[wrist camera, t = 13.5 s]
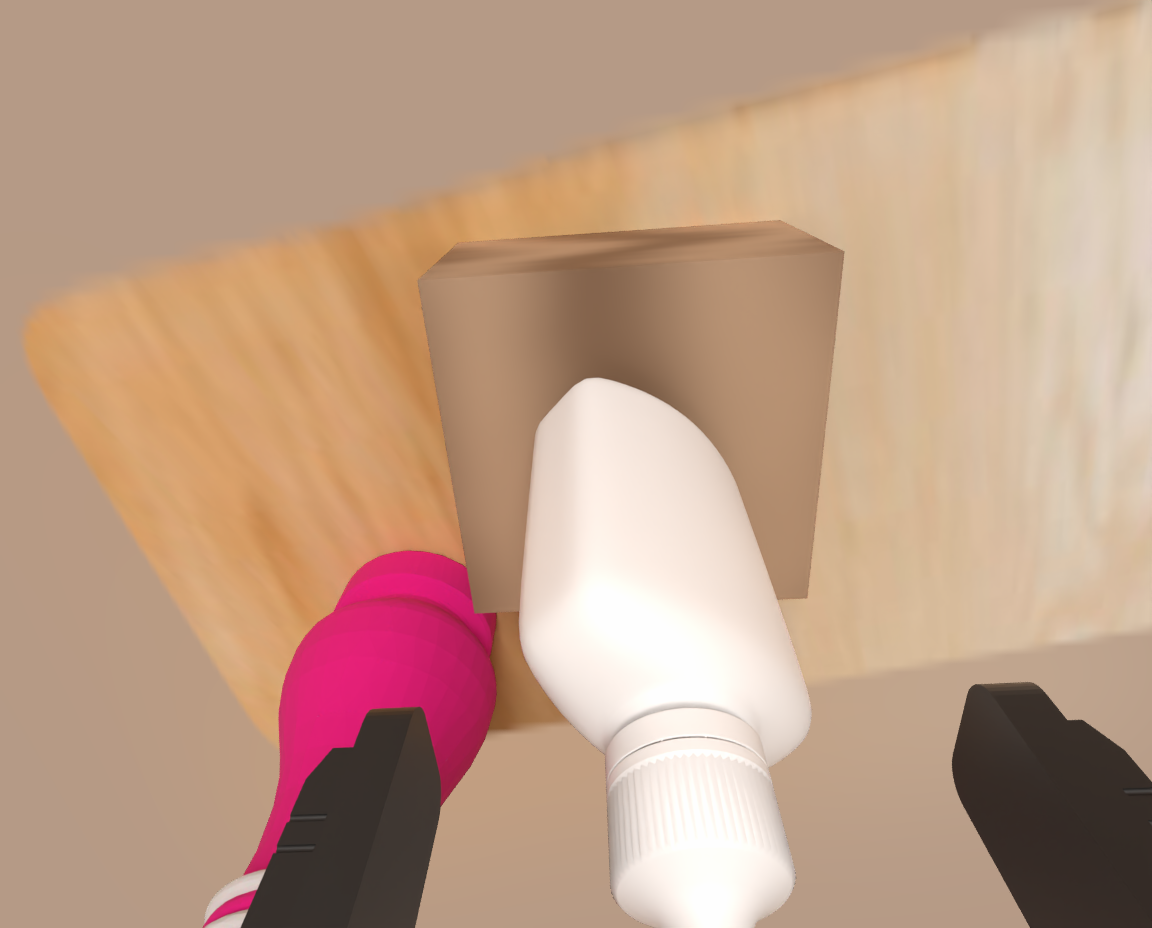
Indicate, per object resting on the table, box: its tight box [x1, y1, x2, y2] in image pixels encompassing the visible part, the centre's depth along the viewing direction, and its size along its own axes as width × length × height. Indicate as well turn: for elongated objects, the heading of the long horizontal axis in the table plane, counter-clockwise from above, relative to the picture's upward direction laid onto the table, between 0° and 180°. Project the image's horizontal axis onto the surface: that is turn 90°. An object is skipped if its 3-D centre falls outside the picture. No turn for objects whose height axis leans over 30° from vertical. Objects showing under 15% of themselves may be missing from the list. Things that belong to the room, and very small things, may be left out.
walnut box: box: [417, 220, 844, 613], centre depth 21 cm, size 10×10×6 cm
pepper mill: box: [203, 551, 497, 928], centre depth 19 cm, size 7×7×20 cm
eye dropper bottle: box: [519, 378, 812, 928], centre depth 13 cm, size 4×6×12 cm
